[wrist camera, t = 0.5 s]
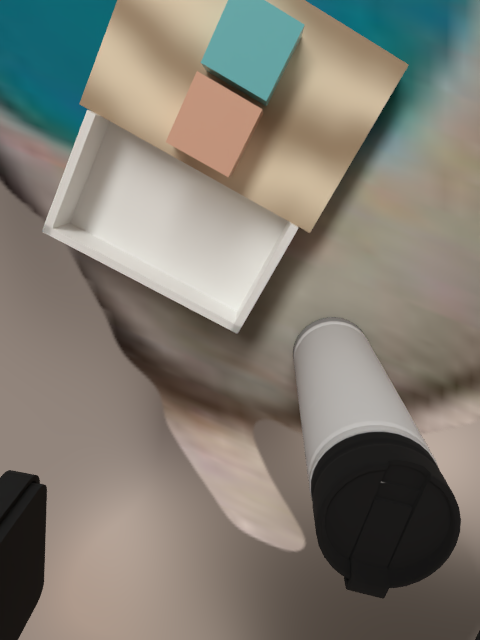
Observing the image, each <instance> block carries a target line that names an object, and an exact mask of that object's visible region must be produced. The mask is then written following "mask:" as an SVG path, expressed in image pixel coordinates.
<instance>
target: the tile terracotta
mask: <svg viewBox="0 0 480 640" xmlns="http://www.w3.org/2000/svg"><path fill="white" fill-rule="evenodd" d="M262 115H263V110H262V109H261V108H259V107H258V106H256V105H254V104H253V103H251V102H249V101H248V100H246V99H244V98H242V97H241V96H239V95H237V94H236V93H234V92H232V91H230V90H229V89H227V88H225V87H224V86H222V85H220V84H218V83H217V82H215V81H213V80H212V79H210V78H208V77H207V76H205V75H203V74H201V73H200V72H198V71H197V72H196V74H195V76H194V79H193V81H192V83H191V85H190V88H189V90H188V92H187V94H186V97H185V99H184V101H183V104H182V106H181V108H180V110H179V113H178V115H177V117H176V119H175V122H174V124H173V126H172V129H171V131H170V133H169V135H168V138H167V140H166V143H168V144H170V145H172V146H173V147H175V148H177V149H179V150H181V151H182V152H184V153H186V154H188V155H189V156H191V157H193V158H195V159H197V160H198V161H200V162H202V163H204V164H205V165H207V166H209V167H211V168H213V169H214V170H216V171H218V172H220V173H221V174H223V175H225V176H227V177H232V175H233V173H234V171H235V169H236V167H237V165H238V163H239V161H240V159H241V157H242V155H243V153H244V151H245V149H246V147H247V145H248V143H249V141H250V139H251V137H252V135H253V133H254V131H255V129H256V127H257V125H258V123H259V121H260V119H261V117H262Z"/></svg>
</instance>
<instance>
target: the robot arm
mask: <svg viewBox="0 0 480 640" xmlns="http://www.w3.org/2000/svg"><path fill="white" fill-rule="evenodd" d="M46 500H47V487H46V485H43V484H40V480H39V477H38V476H37V475H32V474H27V473H22V472H16V471H11V470H9V471H7V472H5V473H4V474H3V475H2V476H1V478H0V640H18V638H19V636H20V634H21V633H22V631H23V629H24V627H25V625H26V623H27V621H28V620H29V618H30V616H31V614H32V612H33V610H34V608H35V606H36V605H37V602H38V600H39V598H40V595H41V592H42V589H43V585H44V563H45V532H46ZM475 640H480V631H479V633H478V635H477V637H476V639H475Z"/></svg>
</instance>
